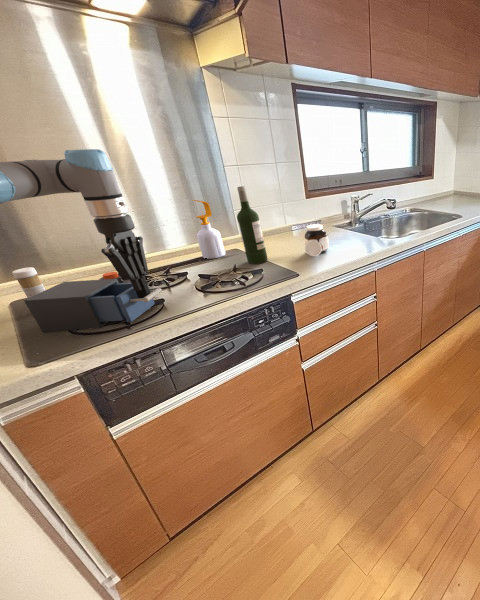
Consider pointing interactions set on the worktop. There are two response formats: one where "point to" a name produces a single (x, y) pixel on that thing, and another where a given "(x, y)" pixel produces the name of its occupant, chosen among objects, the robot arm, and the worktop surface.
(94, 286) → the grey drawer cabinet
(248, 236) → the wine bottle
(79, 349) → the worktop surface
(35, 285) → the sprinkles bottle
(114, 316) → the blue drawer
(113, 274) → the button
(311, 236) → the spread jar
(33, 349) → the worktop surface
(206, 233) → the soap bottle
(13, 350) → the worktop surface
